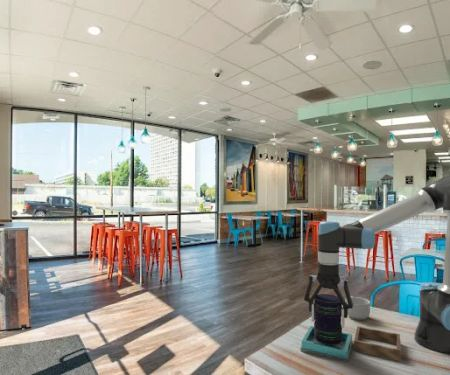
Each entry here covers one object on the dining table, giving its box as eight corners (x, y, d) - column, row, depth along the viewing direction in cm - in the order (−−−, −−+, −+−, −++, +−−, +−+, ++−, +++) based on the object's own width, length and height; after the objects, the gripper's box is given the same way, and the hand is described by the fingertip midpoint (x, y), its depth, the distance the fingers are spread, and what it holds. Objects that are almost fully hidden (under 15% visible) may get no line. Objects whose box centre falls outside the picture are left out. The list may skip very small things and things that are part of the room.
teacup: (372, 323, 140) (372, 305, 140) (346, 320, 142) (347, 302, 142) (365, 312, 154) (365, 295, 154) (341, 309, 156) (342, 293, 156)
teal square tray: (352, 343, 120) (352, 333, 120) (348, 362, 106) (348, 351, 106) (310, 334, 127) (310, 325, 127) (300, 350, 113) (300, 341, 113)
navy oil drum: (312, 341, 114) (312, 300, 114) (315, 331, 123) (315, 292, 123) (341, 347, 110) (341, 304, 110) (342, 336, 119) (342, 296, 120)
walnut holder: (399, 343, 121) (399, 334, 121) (401, 361, 107) (401, 350, 107) (357, 334, 127) (357, 326, 127) (354, 350, 114) (354, 340, 114)
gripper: (361, 264, 115) (361, 326, 115) (300, 258, 126) (300, 314, 125) (360, 268, 109) (359, 333, 108) (296, 261, 119) (295, 320, 118)
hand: (327, 323), depth 117 cm, fingers closed on navy oil drum, 10 cm apart
